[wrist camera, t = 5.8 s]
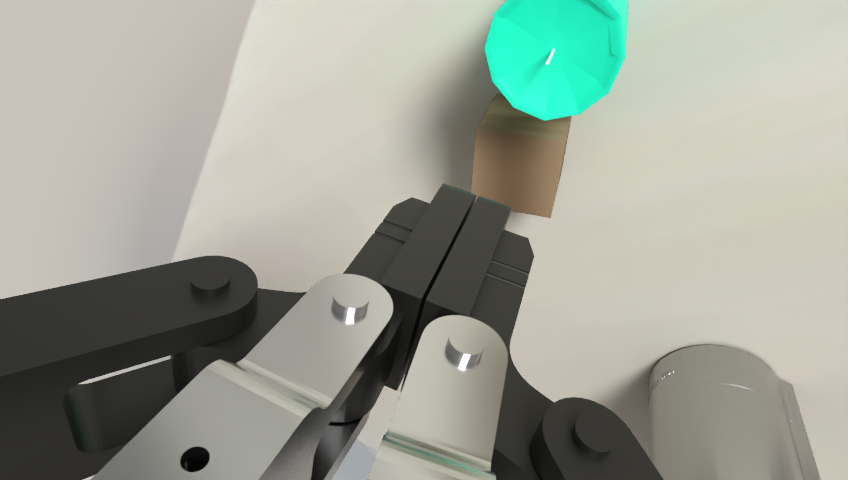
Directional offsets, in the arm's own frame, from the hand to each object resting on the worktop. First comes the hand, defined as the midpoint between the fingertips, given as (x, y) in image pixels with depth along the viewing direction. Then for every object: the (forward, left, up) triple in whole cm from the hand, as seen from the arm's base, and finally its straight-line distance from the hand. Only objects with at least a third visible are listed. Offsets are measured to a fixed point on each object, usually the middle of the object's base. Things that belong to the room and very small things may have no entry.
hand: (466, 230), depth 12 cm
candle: (0, 0, -26) cm, 26 cm away
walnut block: (0, +9, -26) cm, 27 cm away
